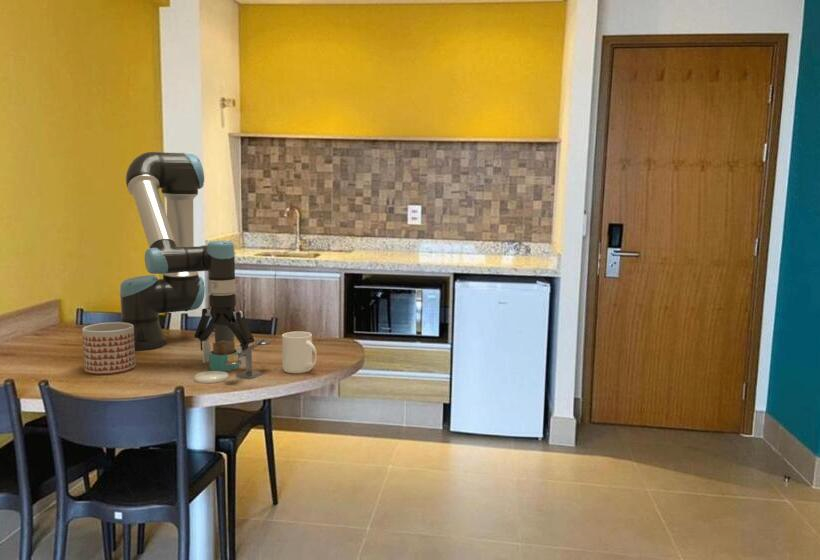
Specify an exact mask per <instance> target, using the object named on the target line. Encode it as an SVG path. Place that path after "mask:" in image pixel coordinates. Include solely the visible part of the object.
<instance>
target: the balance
mask: <svg viewBox="0 0 820 560" xmlns="http://www.w3.org/2000/svg"><path fill="white" fill-rule="evenodd" d="M271 342H272V341H270V340H265V338H260V339H259V340H257V341H254V342H253V343H252V344H251V345H249V346H248V348H247V349H245V350H244V351H242V352H241V353H239V354H230V355H228V361H226V362H225V365H227V366H236V365H240V364H241V361H240V360H238V359H239V358H241V357H242V356H244V355H246V366H245V370H243V371H241V372H238V373H236V375H235V376H236V378H241V379H242V378H243V379H246V380H247V379H248V380H251V379H255V378H257V377H260V376H261V375H263V373H262V371H257V370H253V366H252V365H253V361H252V360H253V359H252V357H253V356H252V355H253V354H252V350H254V349H255V348H257V347H258V346H268V345H269V346H270V345H271V344H272V343H271Z"/></svg>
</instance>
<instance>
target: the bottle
mask: <svg viewBox="0 0 820 560" xmlns="http://www.w3.org/2000/svg"><path fill="white" fill-rule="evenodd" d="M232 323H233V322H232ZM219 341H231V342H235V335H234V333H233V332H232V330H231V329H230V328H229V327H228V326H227V325H226V326H225V325H217V326H216V327H215V329H214V343H216V342H219Z"/></svg>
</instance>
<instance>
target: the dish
mask: <svg viewBox="0 0 820 560" xmlns="http://www.w3.org/2000/svg"><path fill="white" fill-rule="evenodd" d="M228 379H229V372H226V371H216V370H209V371H201V372H198V373H196V374H195V375H194V382H196V383H199V384H216V383H222V382H225V381H227V380H228Z"/></svg>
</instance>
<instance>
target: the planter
mask: <svg viewBox="0 0 820 560" xmlns="http://www.w3.org/2000/svg"><path fill="white" fill-rule="evenodd" d="M81 332H82V350H83V351H82V352H83V367H84V372H85V373H87V374H90V375H94V376H95V375H96V376H97V375H98V376H105V375H106V376H107V375H117V374H122V373H126V372H129V371H131V370H134V368H136V350H135V342H134V326H133V325H132V324H130V323H123V322H122V321H117V322H116V321H115V322H114V321H113V322H100V323H94V324H89V325H85V326H83V327H82V330H81Z"/></svg>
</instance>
